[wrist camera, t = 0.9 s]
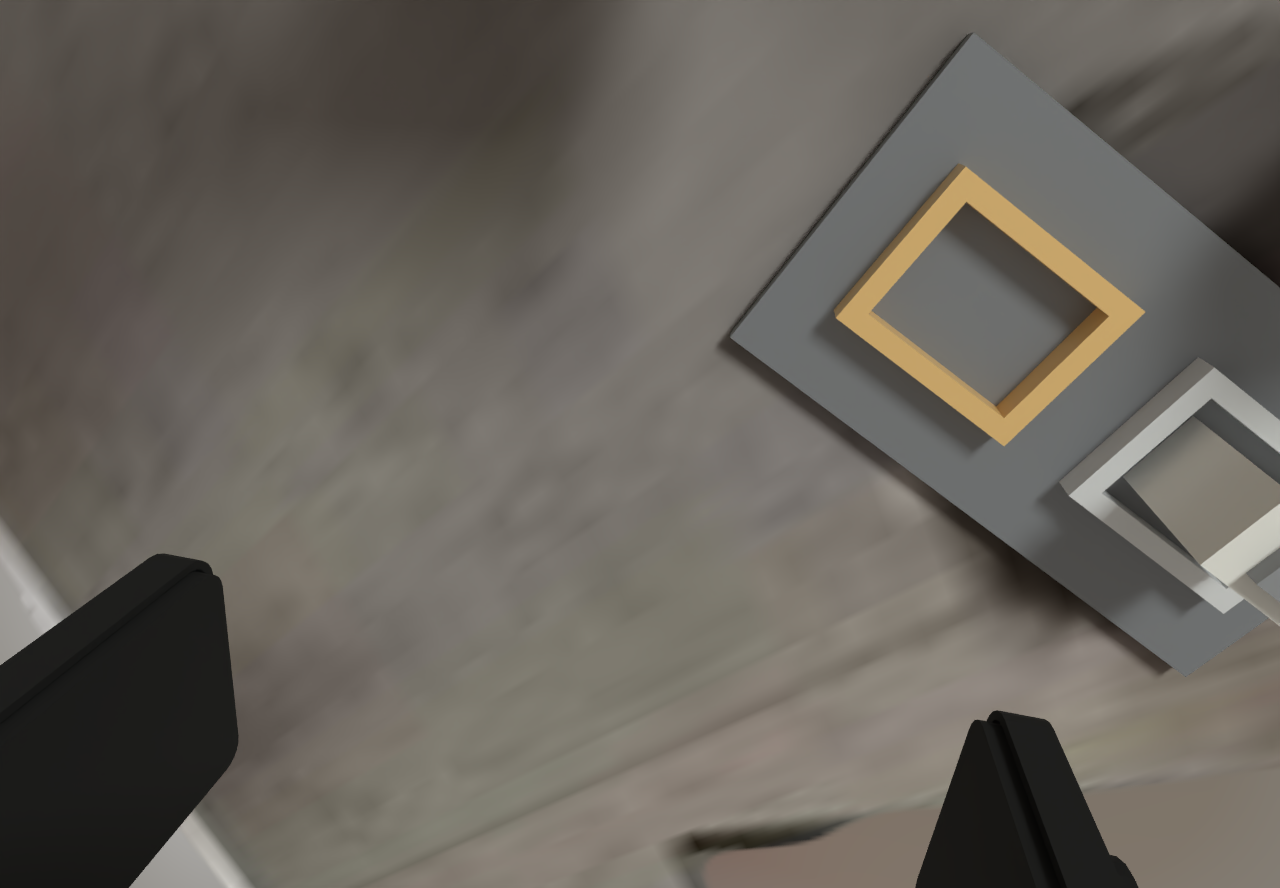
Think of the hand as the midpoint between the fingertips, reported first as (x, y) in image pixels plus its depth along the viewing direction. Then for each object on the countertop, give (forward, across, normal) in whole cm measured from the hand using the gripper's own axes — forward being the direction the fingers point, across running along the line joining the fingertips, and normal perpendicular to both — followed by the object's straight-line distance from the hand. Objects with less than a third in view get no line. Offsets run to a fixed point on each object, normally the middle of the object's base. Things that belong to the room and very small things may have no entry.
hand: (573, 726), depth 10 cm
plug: (+31, -24, +7) cm, 40 cm away
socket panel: (+32, -18, +3) cm, 37 cm away
